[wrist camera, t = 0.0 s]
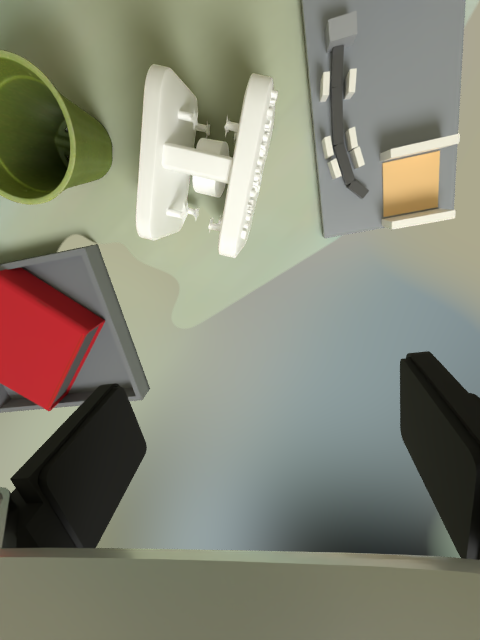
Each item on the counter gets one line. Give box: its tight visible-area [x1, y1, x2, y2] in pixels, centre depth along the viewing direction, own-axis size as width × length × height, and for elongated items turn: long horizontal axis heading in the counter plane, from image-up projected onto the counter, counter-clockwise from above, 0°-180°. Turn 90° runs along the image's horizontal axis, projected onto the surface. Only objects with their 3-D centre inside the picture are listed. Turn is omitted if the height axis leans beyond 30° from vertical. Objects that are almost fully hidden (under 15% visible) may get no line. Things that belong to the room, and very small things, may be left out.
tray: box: [0, 244, 150, 412], centre depth 47 cm, size 24×28×3 cm
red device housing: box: [0, 267, 105, 411], centre depth 46 cm, size 18×14×5 cm
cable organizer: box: [136, 64, 278, 258], centre depth 31 cm, size 15×11×12 cm
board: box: [301, 0, 465, 238], centre depth 29 cm, size 27×14×5 cm, turn 11°
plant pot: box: [0, 50, 112, 204], centre depth 32 cm, size 12×12×11 cm
